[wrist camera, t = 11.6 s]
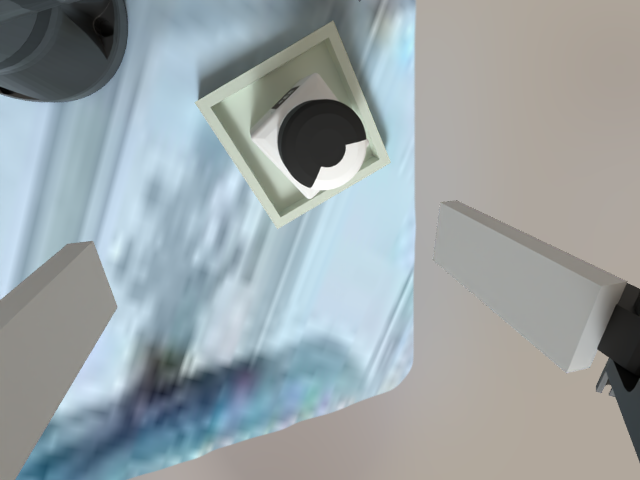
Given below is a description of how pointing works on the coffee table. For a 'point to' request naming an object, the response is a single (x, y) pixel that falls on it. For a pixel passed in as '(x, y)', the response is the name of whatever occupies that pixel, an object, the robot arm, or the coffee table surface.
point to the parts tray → (263, 93)
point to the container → (312, 137)
